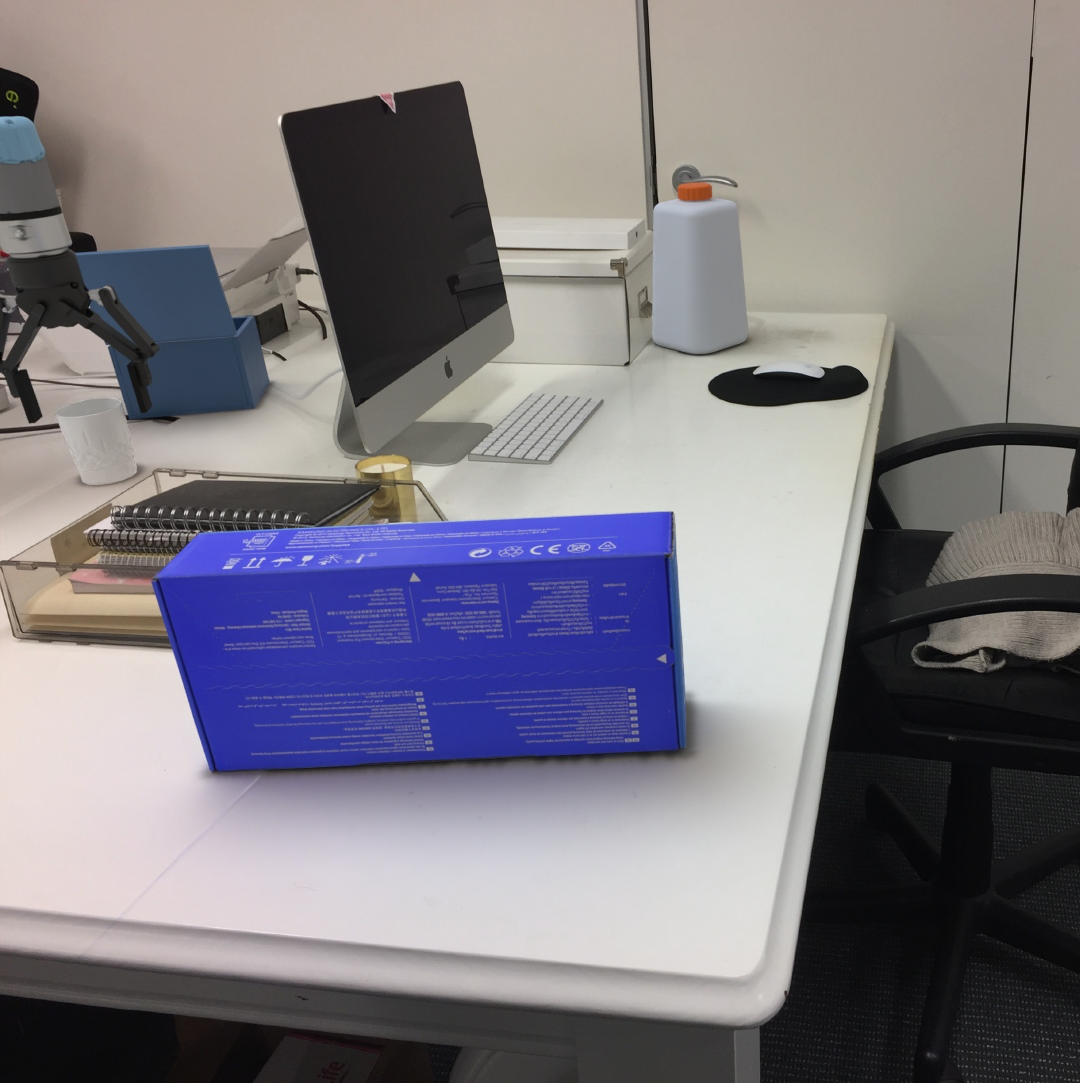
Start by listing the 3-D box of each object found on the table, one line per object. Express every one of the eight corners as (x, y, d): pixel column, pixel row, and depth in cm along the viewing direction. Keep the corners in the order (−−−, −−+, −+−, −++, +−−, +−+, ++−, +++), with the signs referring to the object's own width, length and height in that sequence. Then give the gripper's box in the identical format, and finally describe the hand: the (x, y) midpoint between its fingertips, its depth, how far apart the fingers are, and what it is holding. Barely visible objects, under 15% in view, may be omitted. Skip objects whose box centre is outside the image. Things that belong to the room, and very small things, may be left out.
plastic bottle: (700, 327, 202) (694, 176, 190) (758, 340, 193) (756, 182, 180) (643, 344, 193) (633, 186, 180) (701, 359, 183) (694, 193, 171)
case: (153, 393, 174) (133, 324, 169) (270, 383, 177) (254, 315, 172) (129, 420, 162) (107, 347, 157) (254, 409, 165) (237, 336, 160)
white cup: (141, 480, 140) (120, 410, 135) (75, 492, 137) (51, 421, 133) (143, 461, 146) (122, 393, 142) (80, 472, 143) (57, 403, 139)
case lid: (69, 253, 147) (68, 255, 147) (208, 244, 150) (207, 247, 150) (107, 342, 157) (105, 345, 156) (237, 332, 160) (236, 335, 159)
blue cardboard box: (686, 696, 92) (677, 507, 84) (686, 756, 85) (676, 555, 76) (246, 713, 91) (193, 525, 83) (207, 775, 84) (144, 575, 76)
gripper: (-88, 265, 123) (-24, 434, 132) (138, 249, 127) (184, 414, 136) (-59, 253, 129) (0, 415, 139) (155, 239, 134) (198, 396, 143)
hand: (91, 415), depth 138 cm, fingers open, 13 cm apart
